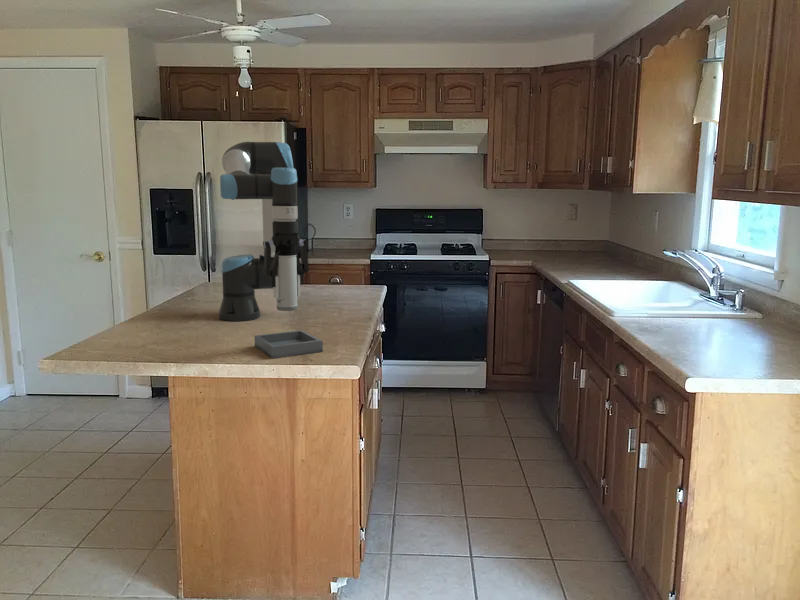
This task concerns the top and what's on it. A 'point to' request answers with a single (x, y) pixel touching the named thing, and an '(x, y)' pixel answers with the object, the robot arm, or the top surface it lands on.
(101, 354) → the top surface
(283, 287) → the travel mug
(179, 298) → the top surface
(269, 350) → the tray
